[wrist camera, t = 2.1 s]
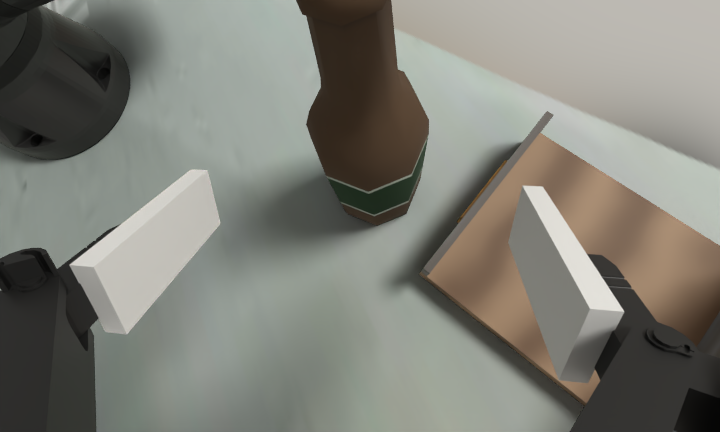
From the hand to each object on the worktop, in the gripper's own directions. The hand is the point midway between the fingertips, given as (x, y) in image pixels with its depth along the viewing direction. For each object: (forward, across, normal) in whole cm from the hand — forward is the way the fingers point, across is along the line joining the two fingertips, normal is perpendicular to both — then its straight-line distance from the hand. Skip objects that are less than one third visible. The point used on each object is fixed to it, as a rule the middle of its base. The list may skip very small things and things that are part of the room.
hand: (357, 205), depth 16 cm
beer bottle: (+18, -1, -8) cm, 20 cm away
